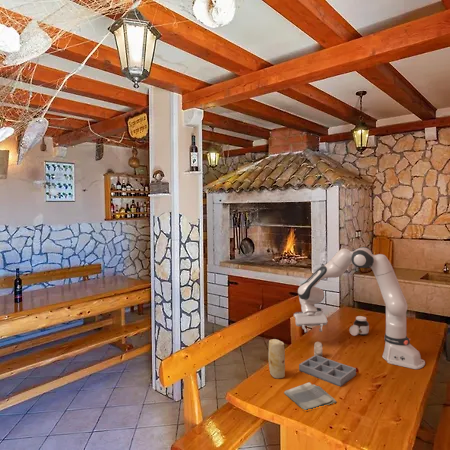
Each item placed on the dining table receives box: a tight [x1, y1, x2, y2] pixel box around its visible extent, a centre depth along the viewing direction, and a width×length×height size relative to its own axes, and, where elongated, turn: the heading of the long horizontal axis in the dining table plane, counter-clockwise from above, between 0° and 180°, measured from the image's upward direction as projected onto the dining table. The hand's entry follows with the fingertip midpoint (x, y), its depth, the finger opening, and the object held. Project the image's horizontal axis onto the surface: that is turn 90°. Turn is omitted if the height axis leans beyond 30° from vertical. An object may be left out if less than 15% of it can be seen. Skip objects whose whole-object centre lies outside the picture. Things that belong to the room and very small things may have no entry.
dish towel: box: [283, 381, 337, 411], centre depth 174 cm, size 19×18×3 cm
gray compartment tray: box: [298, 354, 357, 388], centre depth 198 cm, size 25×17×4 cm
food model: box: [267, 338, 286, 379], centre depth 196 cm, size 10×7×20 cm
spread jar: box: [348, 315, 370, 337], centre depth 253 cm, size 12×11×12 cm
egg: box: [313, 341, 323, 357], centre depth 218 cm, size 5×5×10 cm
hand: (313, 331), depth 226 cm, fingers open, 8 cm apart
